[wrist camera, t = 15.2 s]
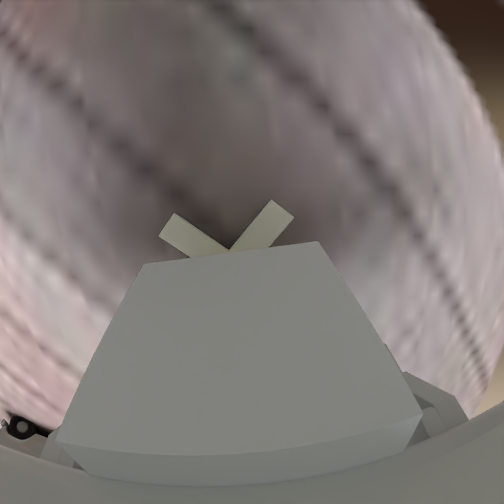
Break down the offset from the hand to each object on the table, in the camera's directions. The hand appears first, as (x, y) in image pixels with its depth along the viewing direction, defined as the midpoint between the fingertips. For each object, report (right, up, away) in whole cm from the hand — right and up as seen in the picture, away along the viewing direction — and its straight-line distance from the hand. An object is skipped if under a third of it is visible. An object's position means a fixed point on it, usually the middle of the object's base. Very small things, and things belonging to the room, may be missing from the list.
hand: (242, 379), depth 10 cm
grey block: (0, +1, +4) cm, 4 cm away
